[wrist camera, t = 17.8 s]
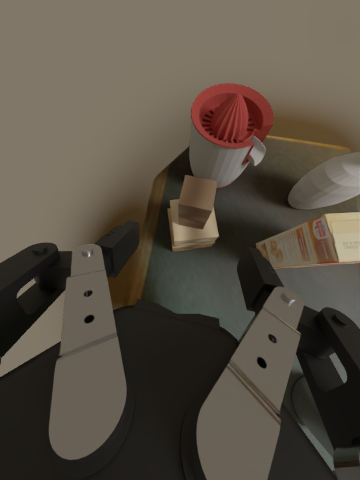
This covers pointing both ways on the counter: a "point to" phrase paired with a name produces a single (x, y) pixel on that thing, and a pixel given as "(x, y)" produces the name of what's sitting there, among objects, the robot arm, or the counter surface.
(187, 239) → the block top
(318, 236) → the coffeecake box
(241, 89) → the citrus juicer
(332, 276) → the counter surface
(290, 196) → the soap bottle
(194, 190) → the walnut post
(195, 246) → the block bottom
